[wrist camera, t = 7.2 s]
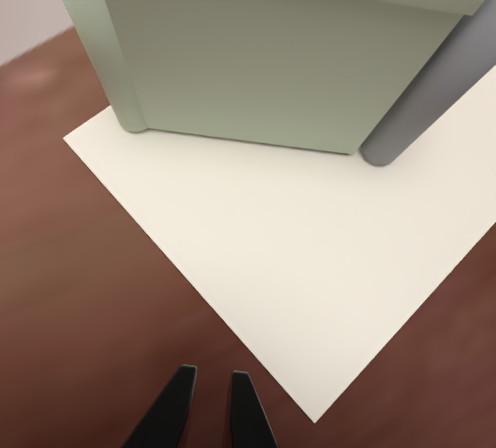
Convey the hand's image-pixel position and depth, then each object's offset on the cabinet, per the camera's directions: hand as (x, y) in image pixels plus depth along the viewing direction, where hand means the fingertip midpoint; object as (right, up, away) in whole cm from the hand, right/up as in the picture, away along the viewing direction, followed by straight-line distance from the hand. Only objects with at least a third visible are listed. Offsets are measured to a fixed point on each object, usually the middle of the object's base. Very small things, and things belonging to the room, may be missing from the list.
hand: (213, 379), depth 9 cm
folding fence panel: (+1, +9, +10) cm, 13 cm away
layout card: (+6, +9, +11) cm, 16 cm away
